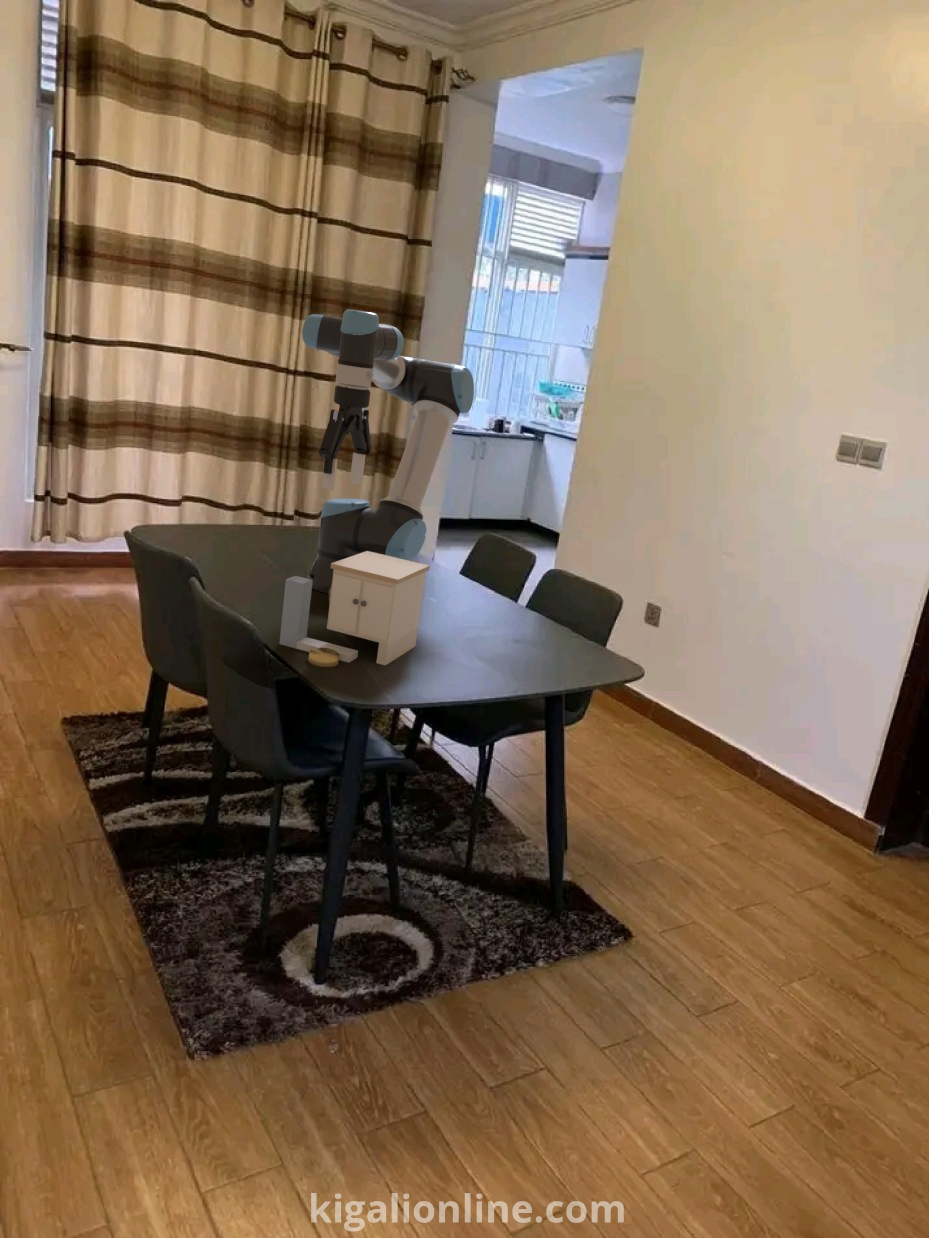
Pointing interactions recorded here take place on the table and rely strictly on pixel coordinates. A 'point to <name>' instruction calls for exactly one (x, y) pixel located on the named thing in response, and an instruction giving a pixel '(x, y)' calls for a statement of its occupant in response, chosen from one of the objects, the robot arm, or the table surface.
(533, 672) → the table surface
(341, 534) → the robot arm
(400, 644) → the cabinet
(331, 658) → the token
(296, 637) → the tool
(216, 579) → the table surface
